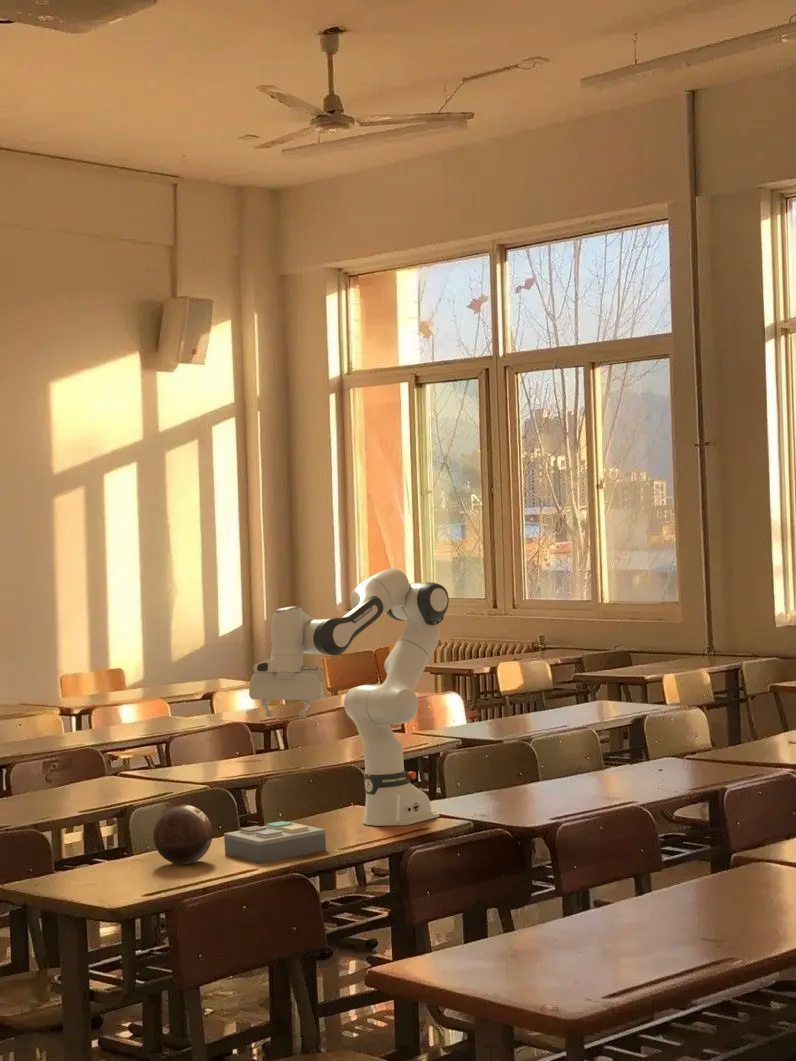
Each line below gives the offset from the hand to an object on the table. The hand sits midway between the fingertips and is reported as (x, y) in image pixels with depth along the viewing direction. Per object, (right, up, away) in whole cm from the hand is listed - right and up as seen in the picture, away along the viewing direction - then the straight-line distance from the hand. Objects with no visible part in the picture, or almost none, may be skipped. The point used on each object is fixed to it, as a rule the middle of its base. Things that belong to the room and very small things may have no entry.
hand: (285, 717), depth 406 cm
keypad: (-2, -34, -14) cm, 37 cm away
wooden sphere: (-24, -35, -21) cm, 48 cm away
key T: (+4, -30, -14) cm, 34 cm away
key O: (-7, -31, -13) cm, 34 cm away
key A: (-3, -30, -19) cm, 36 cm away
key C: (-1, -30, -8) cm, 31 cm away
